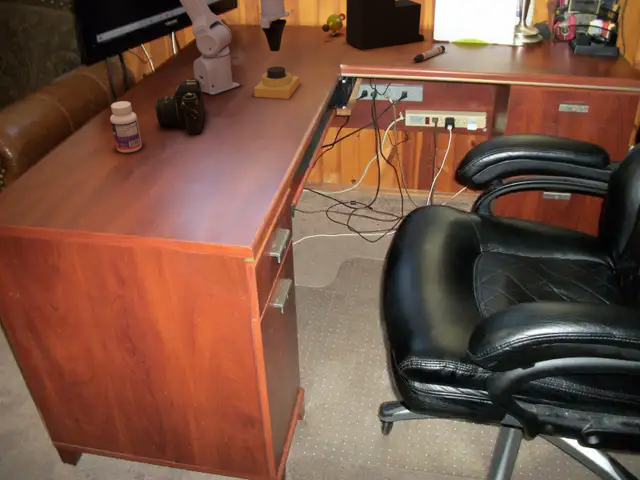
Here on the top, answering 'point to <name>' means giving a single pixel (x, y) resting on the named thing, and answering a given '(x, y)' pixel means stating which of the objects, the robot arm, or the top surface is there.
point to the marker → (429, 53)
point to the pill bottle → (125, 127)
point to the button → (276, 72)
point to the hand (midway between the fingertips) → (275, 50)
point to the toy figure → (334, 23)
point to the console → (276, 86)
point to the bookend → (382, 22)
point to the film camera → (182, 107)
